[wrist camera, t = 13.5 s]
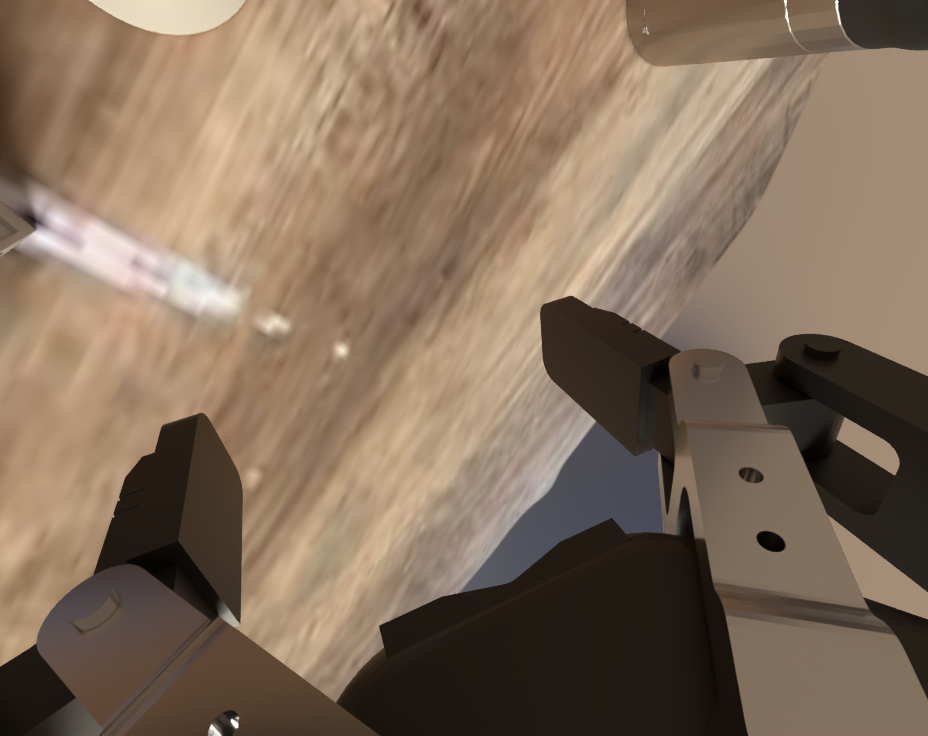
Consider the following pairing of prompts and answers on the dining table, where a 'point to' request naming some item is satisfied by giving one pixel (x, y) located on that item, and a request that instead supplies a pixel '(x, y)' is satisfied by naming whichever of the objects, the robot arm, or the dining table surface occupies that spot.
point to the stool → (12, 229)
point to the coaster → (173, 14)
